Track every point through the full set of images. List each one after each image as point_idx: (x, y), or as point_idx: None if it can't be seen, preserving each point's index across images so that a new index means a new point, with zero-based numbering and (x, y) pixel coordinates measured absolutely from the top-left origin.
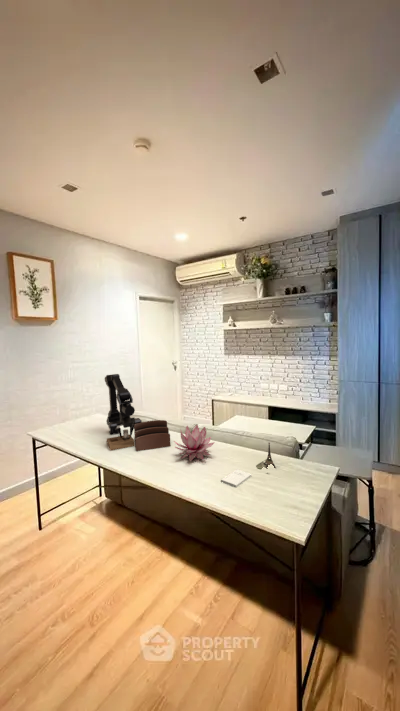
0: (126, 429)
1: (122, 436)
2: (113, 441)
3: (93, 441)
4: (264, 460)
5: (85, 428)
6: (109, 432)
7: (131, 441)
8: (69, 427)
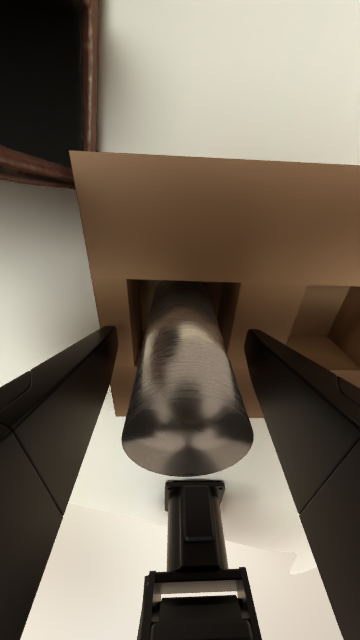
0: (156, 467)
1: None
2: (309, 352)
3: None
4: None
5: (280, 549)
6: (220, 502)
7: (131, 156)
8: None
